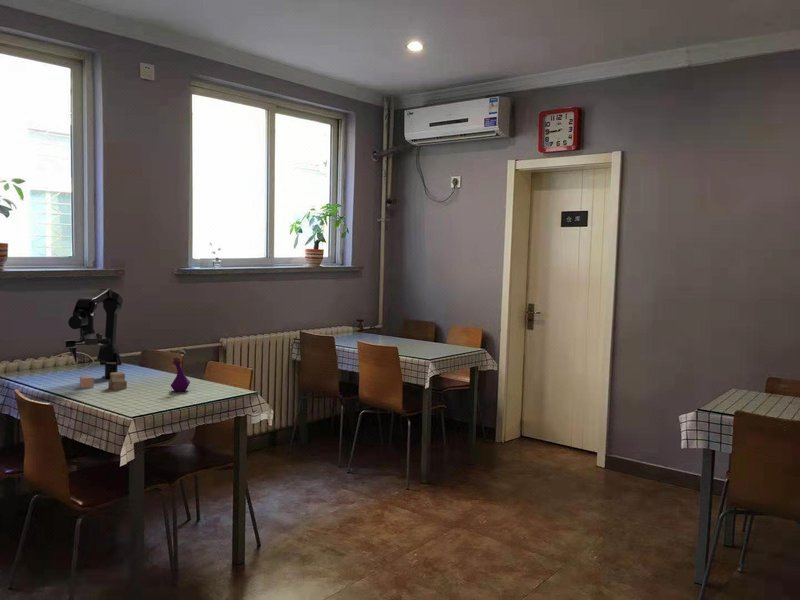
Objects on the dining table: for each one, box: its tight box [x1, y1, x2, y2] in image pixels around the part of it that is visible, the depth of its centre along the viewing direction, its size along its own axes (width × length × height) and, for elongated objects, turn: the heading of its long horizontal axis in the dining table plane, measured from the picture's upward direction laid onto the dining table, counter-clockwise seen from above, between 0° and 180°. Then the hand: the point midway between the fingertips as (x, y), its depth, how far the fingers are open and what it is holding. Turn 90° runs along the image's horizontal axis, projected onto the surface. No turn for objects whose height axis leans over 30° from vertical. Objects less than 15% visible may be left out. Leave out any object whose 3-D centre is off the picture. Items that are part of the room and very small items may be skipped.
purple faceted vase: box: [170, 349, 191, 393], centre depth 297 cm, size 8×8×18 cm
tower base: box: [108, 380, 128, 391], centre depth 300 cm, size 6×6×4 cm
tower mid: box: [109, 371, 126, 382], centre depth 300 cm, size 5×5×4 cm
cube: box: [79, 375, 95, 389], centre depth 301 cm, size 4×4×4 cm
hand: (86, 361), depth 300 cm, fingers open, 9 cm apart
